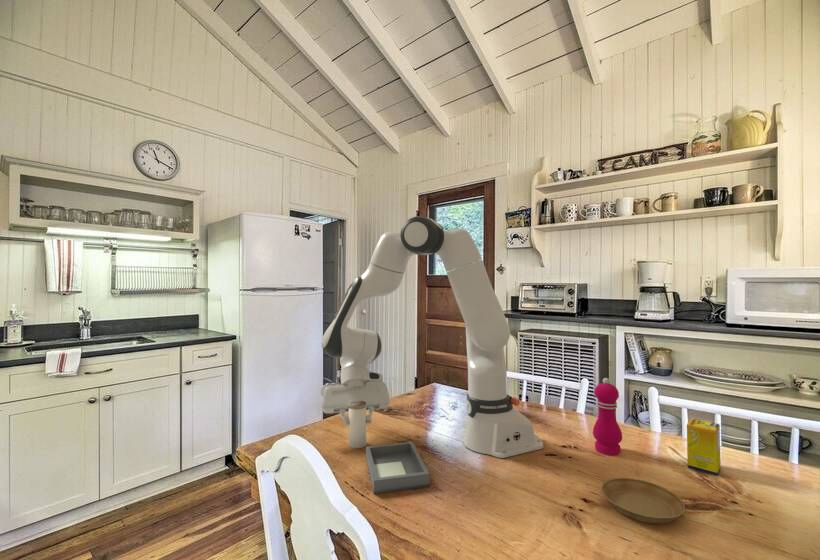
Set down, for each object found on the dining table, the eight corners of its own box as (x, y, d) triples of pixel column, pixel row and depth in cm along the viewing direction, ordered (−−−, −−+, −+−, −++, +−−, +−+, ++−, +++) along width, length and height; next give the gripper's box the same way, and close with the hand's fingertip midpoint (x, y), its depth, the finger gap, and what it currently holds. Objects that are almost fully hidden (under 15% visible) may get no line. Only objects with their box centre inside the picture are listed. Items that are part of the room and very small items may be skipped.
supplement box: (691, 459, 98) (690, 417, 98) (721, 467, 94) (720, 423, 94) (686, 468, 94) (686, 424, 94) (717, 476, 90) (716, 430, 90)
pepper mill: (626, 457, 100) (625, 381, 100) (597, 455, 101) (595, 380, 102) (617, 445, 107) (616, 375, 107) (590, 444, 108) (588, 374, 109)
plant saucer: (585, 498, 82) (585, 486, 82) (631, 483, 88) (631, 471, 88) (653, 540, 68) (653, 526, 69) (702, 518, 74) (701, 505, 74)
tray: (412, 452, 105) (412, 441, 105) (429, 486, 87) (429, 473, 87) (365, 457, 102) (365, 446, 102) (373, 494, 85) (373, 480, 85)
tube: (365, 440, 114) (365, 400, 114) (367, 447, 109) (367, 405, 109) (348, 441, 113) (347, 401, 113) (349, 449, 108) (348, 407, 108)
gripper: (321, 378, 115) (320, 421, 106) (387, 373, 120) (392, 415, 110) (321, 389, 120) (321, 431, 110) (385, 384, 124) (390, 425, 114)
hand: (357, 423), depth 110 cm, fingers closed on tube, 5 cm apart
